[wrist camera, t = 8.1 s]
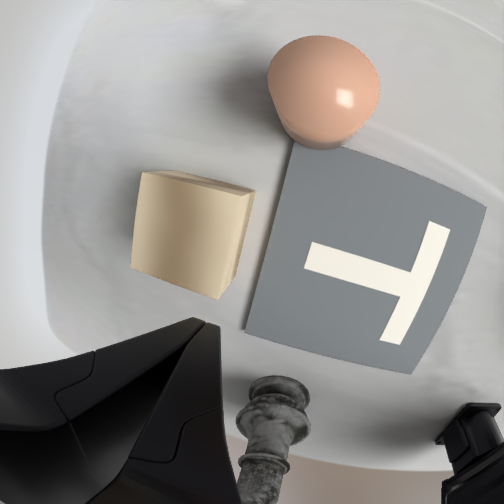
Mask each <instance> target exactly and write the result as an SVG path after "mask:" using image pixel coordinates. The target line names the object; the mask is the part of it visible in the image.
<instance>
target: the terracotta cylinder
mask: <svg viewBox="0 0 504 504" xmlns="http://www.w3.org/2000/svg"><path fill="white" fill-rule="evenodd" d="M267 81H268V88H269V92H270V95H271V97H272V100H273V102H274V105H275V108H276V110H277V113H278V116H279V118H280V121H281V124H282V126H283V128H284V130H285V131H286V132H287V134H288V135H289V136H290V137H291V138H292V139H293V140H295V141H296V142H297V143H299V144H301V145H303V146H305V147H308V148H310V149H315V150H331V149H335V148H338V147H340V146H342V145H344V144H346V143H347V142H348V141H350V140H351V139H352V137H353V136H354V135H355V134H356V133H357V131H358V130H359V129H360V128H361V126H362V125H363V124H364V123H365V121H366V120H367V119H368V117H369V116H370V115H371V114H372V112H373V111H374V109H375V107H376V105H377V103H378V100H379V95H380V83H379V78H378V75H377V72H376V70H375V68H374V66H373V64H372V63H371V61H370V60H369V59H368V58H367V57H366V55H365V54H363V53H362V52H361V51H360V50H359V49H357V48H356V47H355V46H353V45H351V44H350V43H348V42H345V41H343V40H341V39H337V38H334V37H329V36H307V37H303V38H299V39H297V40H294V41H292V42H290V43H288V44H287V45H285V46H284V47H283V48H281V49H280V50H279V51H278V52H277V54H276V55H275V56H274V58H273V60H272V61H271V64H270V66H269V70H268V77H267Z"/></svg>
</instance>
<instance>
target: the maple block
mask: <svg viewBox="0 0 504 504" xmlns="http://www.w3.org/2000/svg"><path fill="white" fill-rule="evenodd" d="M255 194H256V191H255V190H251V189H248V188H244V187H240V186H236V185H232V184H228V183H224V182H220V181H216V180H212V179H208V178H204V177H200V176H196V175H191V174H187V173H183V172H178V171H174V170H168V171H151V172H142V175H141V181H140V187H139V194H138V201H137V208H136V215H135V224H134V232H133V242H132V253H131V266H130V268H133V269H135V270H138V271H140V272H143V273H145V274H148V275H151V276H153V277H156V278H158V279H161V280H164V281H166V282H169V283H172V284H174V285H177V286H180V287H182V288H185V289H188V290H191V291H193V292H196V293H199V294H202V295H205V296H208V297H210V298H213V299H216V300H218V299H219V297H220V296H221V295H222V293H223V292H224V291H225V289H226V288H227V286H228V285H229V284H230V282H231V281H232V280H233V278H234V277H235V274H236V270H237V266H238V262H239V258H240V254H241V250H242V246H243V242H244V238H245V234H246V230H247V226H248V222H249V218H250V214H251V210H252V206H253V202H254V198H255Z"/></svg>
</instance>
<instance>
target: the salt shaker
mask: <svg viewBox="0 0 504 504" xmlns="http://www.w3.org/2000/svg"><path fill="white" fill-rule="evenodd" d="M249 398H250V402H249V403H248V404H247V405H246V406H245V408H244V409H242V410H241V411H240V412H239V413H238V415H237V417H236V425H237V428H238V429H239V431H240V432H241V434H243V435H244V436H245V437H246V438H248V439H249V440H248V446H247V449H246V452H245V455H243V456H241V457H240V458H239V460H238V464H239V466H240V467H241V468H242V469H241V472H240V475H239V478H238V481H237V486H238V490H239V493H240V497H241V500H242V503H243V504H276V503H277V501H278V497H279V493H280V488H281V483H282V478H283V474H286V473H287V472H288V471H289V470H290V465H289V463H288V462H287V457H288V451H289V447H290V446H291V445H295V444H297V443H299V442H301V441H303V440H304V439H305V438H306V437H307V436H308V435H309V433H310V431H311V424H310V422H309V420H308V418H307V415H306V413H305V411H304V409H305V408H306V407H307V406H308V403H309V401H310V398H309V393H308V390H307V389H306V388H305V386H304V385H303V384H301V383H300V382H298V381H297V380H294V379H292V378H289V377H284V376H269V377H264V378H262V379H259V380H257V381H256V382H255V383H254V384H253V385H252V386H251V388H250V391H249Z"/></svg>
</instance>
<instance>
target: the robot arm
mask: <svg viewBox="0 0 504 504" xmlns="http://www.w3.org/2000/svg"><path fill="white" fill-rule="evenodd" d="M500 409H501V405H500V404H468V405H467V406H466V407H465V408H464V409H463V410H462V411H461V413H460V414H459V415H458V416H457V417H456V418H455V420H454V421H453V422H452V423H451V424H450V425H449V426H448V427H447V428H446V430H445V431H444V432H443V433H442V434H441V435H440V436H439V437H438V438H437V439H436V440H435V444H436V445H445V448H446V451H447V455H448V458H449V462H450V463H452V467H453V471H454V476H452V477H451V478H449V479H446V480H444V481H442V488H441V504H504V439H503V437H502V434H501V432H500V430H499V428H498V425H497V423H496V421H495V419H494V416H495V415H496V414H497V413H498V412H499V410H500ZM0 504H243V503H242V500H241V497H240V493H239V490H238V486H237V483H236V479H235V476H234V472H233V468H232V465H231V461H230V457H229V452H228V447H227V442H226V436H225V426H224V412H223V394H222V369H221V335H220V327H219V326H217V325H214V324H211V323H206V322H205V321H203V320H200V319H197V318H194V317H192V318H189V319H186V320H183V321H180V322H177V323H175V324H172V325H169V326H166V327H163V328H160V329H158V330H155V331H152V332H149V333H146V334H143V335H140V336H137V337H134V338H131V339H128V340H125V341H122V342H119V343H116V344H113V345H110V346H107V347H104V348H101V349H97V350H96V351H91V352H87V353H84V354H81V355H77V356H74V357H70V358H67V359H62V360H58V361H53V362H48V363H42V364H36V365H30V366H25V367H18V368H11V369H0Z"/></svg>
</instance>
